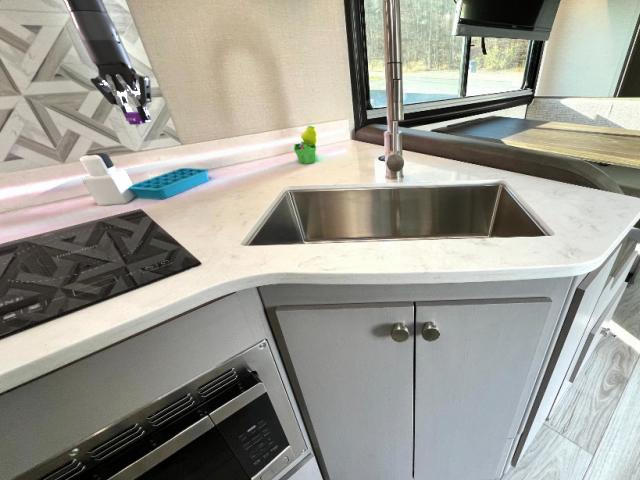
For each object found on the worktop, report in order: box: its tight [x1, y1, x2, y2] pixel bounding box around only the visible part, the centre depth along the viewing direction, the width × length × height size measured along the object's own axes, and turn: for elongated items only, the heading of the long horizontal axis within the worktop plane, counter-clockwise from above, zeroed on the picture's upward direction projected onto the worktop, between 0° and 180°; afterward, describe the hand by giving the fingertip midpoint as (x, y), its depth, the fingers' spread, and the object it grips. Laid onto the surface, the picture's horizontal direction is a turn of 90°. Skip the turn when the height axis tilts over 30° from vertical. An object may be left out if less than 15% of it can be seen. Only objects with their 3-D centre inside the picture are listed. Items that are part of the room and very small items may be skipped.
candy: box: [124, 110, 145, 126], centre depth 83 cm, size 3×7×2 cm, turn 1°
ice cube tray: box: [128, 167, 210, 200], centre depth 94 cm, size 12×20×3 cm, turn 165°
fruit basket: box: [293, 125, 318, 165], centre depth 114 cm, size 11×9×11 cm
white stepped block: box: [79, 152, 137, 207], centre depth 84 cm, size 7×7×12 cm
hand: (140, 122), depth 84 cm, fingers closed on candy, 3 cm apart
